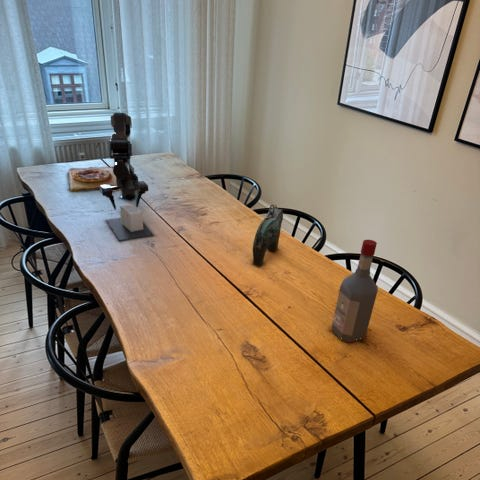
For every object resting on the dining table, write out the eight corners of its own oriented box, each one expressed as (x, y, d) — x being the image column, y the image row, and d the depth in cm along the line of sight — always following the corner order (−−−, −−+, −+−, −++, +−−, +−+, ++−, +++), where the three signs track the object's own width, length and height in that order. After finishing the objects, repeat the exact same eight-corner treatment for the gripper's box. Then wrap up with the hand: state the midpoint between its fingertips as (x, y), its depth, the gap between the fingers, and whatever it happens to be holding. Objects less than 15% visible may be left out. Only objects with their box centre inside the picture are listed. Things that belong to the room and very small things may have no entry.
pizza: (64, 171, 247) (62, 164, 245) (116, 168, 256) (115, 161, 254) (69, 193, 221) (68, 185, 219) (127, 188, 230) (126, 181, 228)
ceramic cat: (269, 244, 184) (273, 197, 173) (283, 248, 182) (289, 200, 171) (248, 264, 169) (251, 213, 158) (264, 268, 167) (268, 217, 156)
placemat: (106, 220, 195) (106, 219, 195) (138, 216, 201) (137, 215, 201) (119, 241, 180) (119, 240, 179) (153, 236, 185) (153, 235, 185)
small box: (133, 221, 196) (143, 230, 189) (120, 223, 193) (131, 232, 186) (132, 203, 191) (142, 212, 184) (119, 205, 188) (130, 214, 181)
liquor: (344, 344, 131) (366, 252, 114) (327, 327, 138) (345, 237, 121) (369, 338, 134) (394, 247, 117) (352, 322, 141) (373, 233, 124)
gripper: (103, 179, 169) (108, 218, 178) (151, 174, 177) (153, 212, 186) (96, 170, 177) (101, 208, 186) (143, 166, 185) (145, 203, 194)
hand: (126, 208), depth 188 cm, fingers open, 9 cm apart
